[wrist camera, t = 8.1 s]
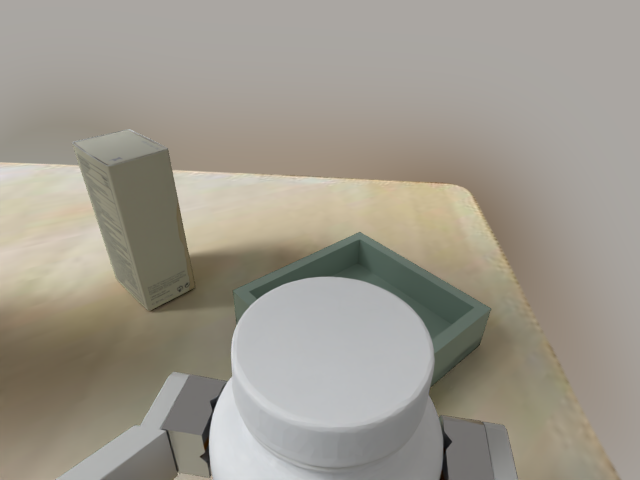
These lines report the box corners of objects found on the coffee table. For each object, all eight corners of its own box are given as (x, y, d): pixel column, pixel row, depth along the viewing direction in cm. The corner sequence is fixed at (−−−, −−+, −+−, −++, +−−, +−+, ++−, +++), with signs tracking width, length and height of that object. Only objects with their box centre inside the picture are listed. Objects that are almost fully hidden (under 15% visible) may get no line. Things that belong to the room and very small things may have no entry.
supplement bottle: (363, 452, 17) (396, 242, 11) (435, 625, 12) (542, 417, 7) (221, 494, 15) (183, 275, 10) (247, 707, 11) (204, 522, 6)
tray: (236, 326, 32) (232, 290, 30) (356, 264, 39) (359, 231, 37) (355, 451, 24) (360, 412, 22) (479, 344, 31) (491, 308, 29)
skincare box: (197, 289, 35) (173, 149, 29) (146, 314, 33) (107, 166, 26) (159, 257, 39) (131, 126, 33) (110, 278, 36) (69, 139, 30)
